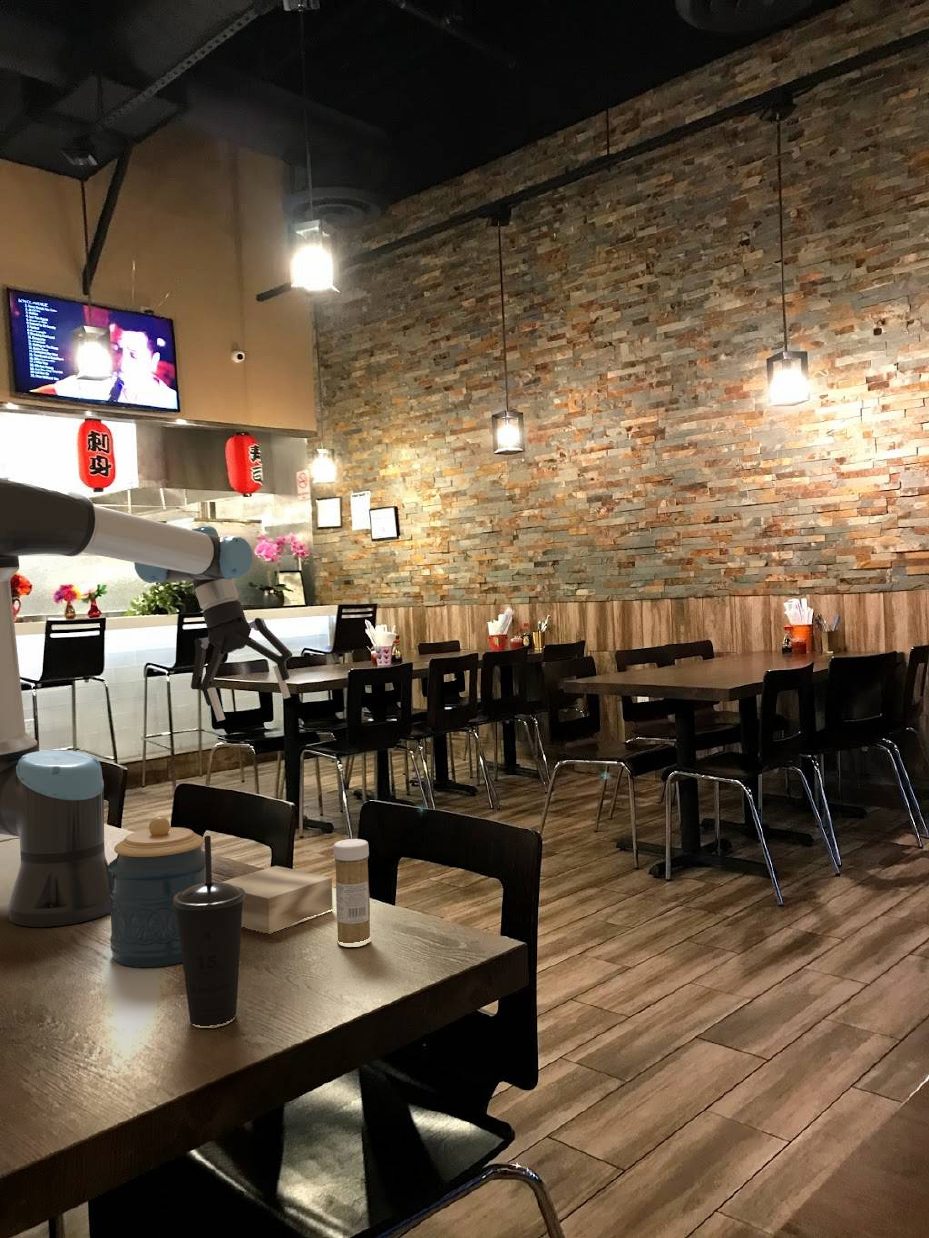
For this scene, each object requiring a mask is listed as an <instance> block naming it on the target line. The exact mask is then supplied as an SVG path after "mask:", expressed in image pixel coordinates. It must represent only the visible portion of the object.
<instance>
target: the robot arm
mask: <svg viewBox="0 0 929 1238" xmlns="http://www.w3.org/2000/svg"><path fill="white" fill-rule="evenodd" d="M82 553H85V554H90V555H94V556H99V557H105V558H110V559H116V560H121V561H124V562H125V561H126V562H131V563H133V564H134V570H135V573H136V574H137V576H138V578H140V579H141V580H142V581H143V582H146V583H150V584H154V583H157V584H162V583H167V582H184V581H186V582H187V581H191V583H192V585H193V588H194V590H195V594H196V597H197V600H198V603H199V607H200V609H203V612H202V616H203V620H204V622H205V626H206V628H207V631H208V636H207V637H203V638H195V639H194V641H193V643H194V646H195V647H194V648H195V656H194V662H193V669H192V676H191V681H190V682H191V683H190V688H191V690H199V691H201V692H202V694H203V696H204V700H205V702H206V705H207V706H208V707H210V706H212V708H213V711H214V715H215V718H216V722H220V721H224V720H226V717H225V714H224V710H223V708H222V705H221V702H220V698H219V694H218V692H217V689H216V687H212V684H213V682H214V679H215V677H216V675H217V672H218V669H219V667H220V664H221V663H222V659H223V658H224V657H225V656H224V655H225V654H230V653H233V652H235V651H237V650H242V649H245V647H248V648H251V649H252V650H254V651H256V652H257V653H259V654H261V655H262V656H264V657H265V658H267V659H269V660H271V661H272V662H273V663H275V664H276V665H274V666H273V667H272V668H273V670H274V671H273V672H274V674H275V676H276V680H277V682H278V686H279V689H280V692H281V695H282V698H283V699H289V698H291V697H292V696H291V693H290V691H289V687H288V685H287V684H288V683H287V682H286V681H287V680H290V674H289V671H288V669H287V665H286V663H287V661H288V660H289V659H290V658H292V657H293V653H292V652H291V650H289V649H288V647H286V645H284V643H282V641H281V640H280V639H279V638H278V637H277V636H276V635H275V634H274V633H273V632H272V631H271V630H270V629H269V628H268V627H267V624H266V622H265V620H264V619H263V618H261V617H256V618H255V619H254V620H253V621H250V622H249V621H247V619H246V618H247V617H246V615H245V612H244V607H243V605H242V603H241V601H239V600H237V599H239V594H238V591H237V587H236V584H235V581H234V579H239V578H243V577H245V576H246V575H247V574H249V572H250V570H251V569H252V566H253V560H254V559H253V556H254V555H253V550H252V547H251V545H250V543H249V542H248V541H247V540H246V539H245V538H244V537H242V536H234V535H226V536H219V533H218V531H217V529H216V528H215V527H214V526H211V525H202V526H198V527H197V526H196V527H193V528H190V529H188V528H185V527H181V526H177V525H173V524H170V523H167V522H162V521H159V520H154V519H151V518H148V517H147V518H146V517H143V516H139V515H135V514H131V513H127V512H123V511H120V510H116V509H112V508H109V507H108V508H107V507H103V506H100V505H96V504H94V503H93V501H92V500H91V499H90V498H89V496H86V495H83V494H80V493H76V492H73V491H70V490H65V489H62V488H58V487H56V486H51V485H49V484H45V483H40V482H36V481H32V480H29V479H21V478H16V477H0V835H5V836H13V837H19V849H20V850H19V851H20V854H19V855H20V867H19V870H18V873H17V876H16V880H15V882H14V886H13V888H12V892H11V895H10V899H9V902H8V903H9V904H8V913H9V914H8V918H9V921H10V922H12V923H13V924H15V925H18V926H22V927H23V926H24V927H32V928H33V927H34V928H36V927H37V928H40V927H41V928H45V927H46V928H47V927H60V926H68V925H73V924H79V923H83V922H87V921H91V920H94V919H98V918H101V917H103V916H106V915H108V914H111V906H110V897H109V890H110V889H111V888H112V882H113V875H112V874H111V873H110V872H109V871H108V865H109V863H108V860H107V857H106V853H105V851H106V850H105V847H106V846H105V809H104V807H105V803H104V802H105V801H104V800H105V798H104V791H105V790H104V788H105V782H104V781H105V780H104V779H103V771H102V765H101V762H100V761H99V760H98V758H96V757H95V756H93V755H91V754H90V753H89V754H88V753H85V752H81V751H75V750H61V749H54V750H39V748H38V740H36V739H35V738H34V737H32V735H30V734H28V732H27V731H26V724H25V723H26V722H25V713H24V706H23V705H24V704H23V695H22V684H21V675H20V666H19V657H18V656H19V654H18V645H17V635H16V626H15V617H14V607H13V600H12V599H13V598H12V596H13V595H12V588H11V580H12V578H13V577H14V576H15V575H16V574H17V572H18V571H19V570H20V558H19V556H21V557H22V556H30V555H47V554H48V555H60V556H64V557H65V556H66V557H78V556H79V555H81V554H82ZM252 629H254V630H255V631H259V633H260V634H261V635H262V636H263V637H264V639H266V641H268V642H269V643H270V644H271V645H272V646H273V648H275V650H276V651H277V652H279V654H280V655H279V654H277V653H275V652H274V651H272V650H271V649H269V648H267V647H266V646H265V645H263V644H260V643H259V642H257V641H256V640H255V639H253V638H252V637H250V635H251V632H252ZM209 644H211V645H213V647H214V649H213V651H212V656H211V659H210V662H209V664H208V666H207V669H206V671H205V674H204V670H205V669H204V668H205V661H206V656H207V655H206V654H207V649H208V648H209ZM203 675H204V676H203Z"/></svg>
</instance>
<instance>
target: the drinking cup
mask: <svg viewBox="0 0 929 1238" xmlns="http://www.w3.org/2000/svg"><path fill="white" fill-rule="evenodd" d="M203 838H204V851H205V876H206V882H204V883H200V884H196V885H194V886H191V887H189V888H187V889H186V890H184V891H182V892H180V893H178V894H176V895H175V896H174V897H173V905H174V906H175V907H176V913H177V921H178V929H179V937H180V945H181V953H182V960H183V962H182V967H183V975H184V984H185V991H186V998H187V1006H188V1014H189V1016H188V1017H189V1023H190V1022H191V1023H192V1024H195V1025H200V1026H210V1025H217V1024H223V1023H226V1022H227V1021H230V1020H231V1019H233V1018H234V1017H235V1015H236V1016H237V1009H238V1008H237V1007H238V1006H237V1005H238V991H239V989H238V988H239V973H240V971H239V970H240V956H241V955H240V954H241V941H242V939H241V937H242V927H241V924H242V907H243V900H244V898H245V890H244V889H242V888H240V887H237V886H233V885H231V884H228V883H224V882H223V881H213V872H212V871H213V869H212V868H213V867H212V860H211V857H212V836H211V835H204V837H203ZM191 1023H190V1024H191Z"/></svg>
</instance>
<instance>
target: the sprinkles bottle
mask: <svg viewBox="0 0 929 1238" xmlns="http://www.w3.org/2000/svg"><path fill="white" fill-rule="evenodd" d="M369 849H370V848H369V842H368V841H367V840H365V839H361V838H349V839H342V840H338V841H336V842H335V843H333V858H334V862H335V902H336V903H335V905H336V922H337V924H336V926H337V939H338V941H339V942H343V943H354V942H360V941H364V940H366V939H368V938H369V937H370V936H371V926H370V925H371V924H370V923H371V921H370V918H371V917H370V916H371V905H370V904H371V903H370V901H371V900H370V897H371V896H370V887H369V886H370V885H369V867H368V865H369V864H368V863H369V862H368V859H369V856H370V851H369Z"/></svg>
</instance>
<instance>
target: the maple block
mask: <svg viewBox="0 0 929 1238" xmlns="http://www.w3.org/2000/svg"><path fill="white" fill-rule="evenodd" d="M222 882H224V883H228V884H231V885H233V886H237V887H240V888H242V889H244V890H245V898H244V900H243V907H242V924H241V928H243V927H245V928H244V929H246V928H247V930H250V929H251V930H250V931H253V930H256V931H255V932H257V931H260V932H259V933H261V932H264V933H268V934H270V933H273V932H274V931H276V930H278V929H281V928H283V927H287V926H290V925H292V924H293V923H295V922H298V921H300V920H302V919H304V918H307V917H311V916H314V915H318V914H321V913H323V912H326V911H328V910H331V909H333V908H334V907H333V906H334V905H333V878H332V877H331V876H327V875H322V874H317V873H311V872H307V871H303V870H298V869H293V868H290V867H289V868H288V867H285V866H279V865H274V866H270V867H268V868H265V869H263V868H262V869H261V870H258V871H254V872H251V873H247V874H243V875H241V876H237V877H234V878H230V879H227V880H224V881H222ZM264 933H263V934H264ZM268 934H267V935H268ZM273 934H274V933H273Z"/></svg>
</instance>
